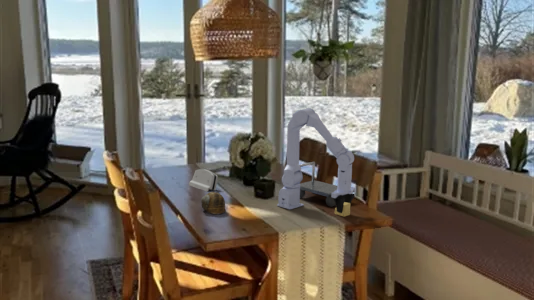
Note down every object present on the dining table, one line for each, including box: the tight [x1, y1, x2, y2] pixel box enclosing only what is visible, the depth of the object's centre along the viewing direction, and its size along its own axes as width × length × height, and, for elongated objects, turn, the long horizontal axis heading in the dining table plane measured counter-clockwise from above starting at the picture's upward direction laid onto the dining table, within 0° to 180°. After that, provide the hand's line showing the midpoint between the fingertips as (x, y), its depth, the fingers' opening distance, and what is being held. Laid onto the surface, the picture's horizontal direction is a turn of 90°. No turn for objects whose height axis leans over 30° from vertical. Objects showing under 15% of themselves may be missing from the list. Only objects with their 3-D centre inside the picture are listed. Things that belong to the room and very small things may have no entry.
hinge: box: [188, 168, 219, 193], centre depth 250 cm, size 17×5×10 cm, turn 43°
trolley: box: [299, 161, 337, 208], centre depth 232 cm, size 14×24×16 cm, turn 45°
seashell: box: [200, 191, 227, 215], centre depth 212 cm, size 11×9×8 cm
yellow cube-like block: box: [334, 202, 351, 218], centre depth 211 cm, size 4×5×5 cm
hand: (342, 211), depth 211 cm, fingers closed on yellow cube-like block, 4 cm apart
